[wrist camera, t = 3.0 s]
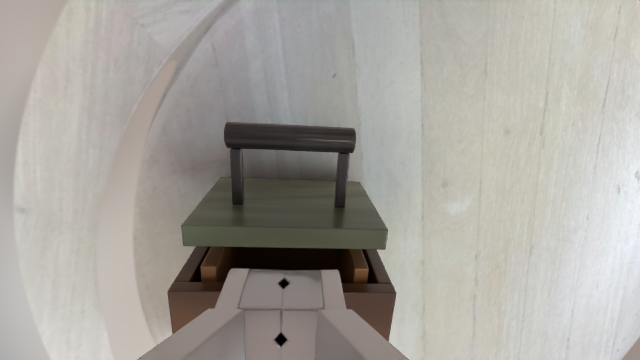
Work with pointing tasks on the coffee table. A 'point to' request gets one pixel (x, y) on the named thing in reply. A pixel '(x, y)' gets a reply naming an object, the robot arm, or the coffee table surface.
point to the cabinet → (363, 299)
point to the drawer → (286, 210)
